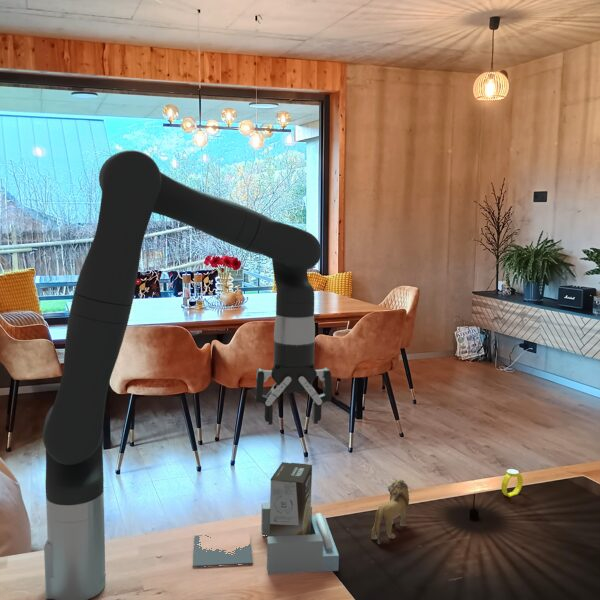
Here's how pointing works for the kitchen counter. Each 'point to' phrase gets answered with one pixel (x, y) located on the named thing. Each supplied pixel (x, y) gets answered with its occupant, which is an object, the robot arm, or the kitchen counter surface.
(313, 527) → the vise
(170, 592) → the kitchen counter surface
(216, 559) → the mat
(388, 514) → the lion figurine
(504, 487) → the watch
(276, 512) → the coffee box
